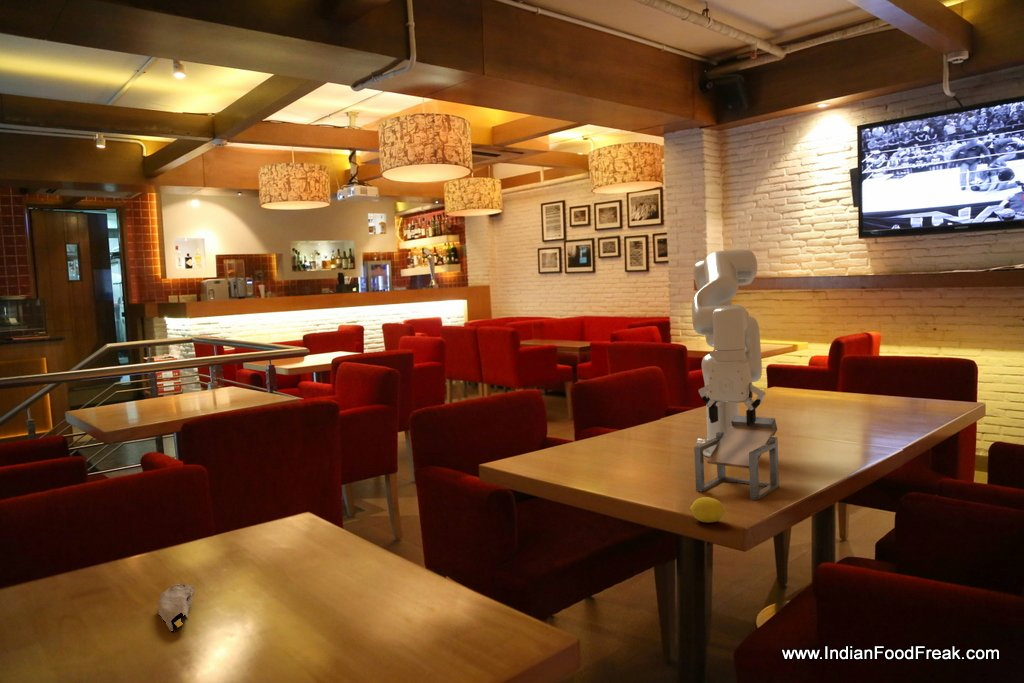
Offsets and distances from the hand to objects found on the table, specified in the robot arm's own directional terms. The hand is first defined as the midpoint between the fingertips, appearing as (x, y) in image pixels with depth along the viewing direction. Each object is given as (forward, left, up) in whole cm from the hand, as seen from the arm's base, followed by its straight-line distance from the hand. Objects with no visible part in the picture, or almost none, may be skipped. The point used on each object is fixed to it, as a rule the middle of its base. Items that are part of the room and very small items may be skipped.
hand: (732, 423), depth 184 cm
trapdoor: (0, +7, -8) cm, 10 cm away
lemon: (+1, -27, -15) cm, 30 cm away
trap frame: (0, +2, -17) cm, 17 cm away
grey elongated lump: (-49, -119, -18) cm, 130 cm away
